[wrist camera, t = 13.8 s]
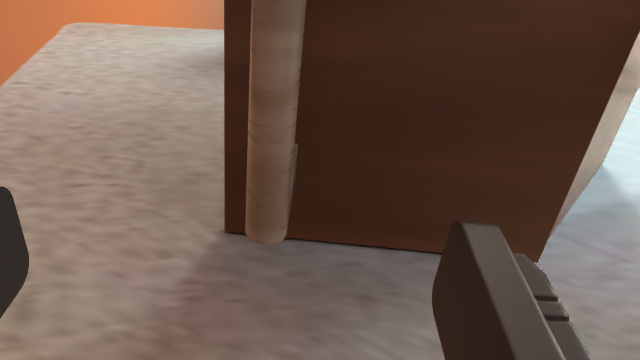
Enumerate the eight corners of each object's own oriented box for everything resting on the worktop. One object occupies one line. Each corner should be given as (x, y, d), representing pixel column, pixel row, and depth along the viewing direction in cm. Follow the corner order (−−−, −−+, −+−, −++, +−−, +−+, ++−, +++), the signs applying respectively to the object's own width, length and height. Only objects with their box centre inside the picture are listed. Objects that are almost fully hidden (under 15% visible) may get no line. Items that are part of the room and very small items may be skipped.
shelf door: (580, 348, 21) (936, -274, 10) (199, 311, 21) (171, -375, 10) (531, 250, 26) (734, -227, 16) (228, 219, 26) (229, -291, 15)
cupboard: (538, 252, 26) (749, -231, 16) (309, 141, 34) (347, -230, 24) (602, 163, 36) (760, -174, 25) (412, 92, 44) (472, -187, 33)
